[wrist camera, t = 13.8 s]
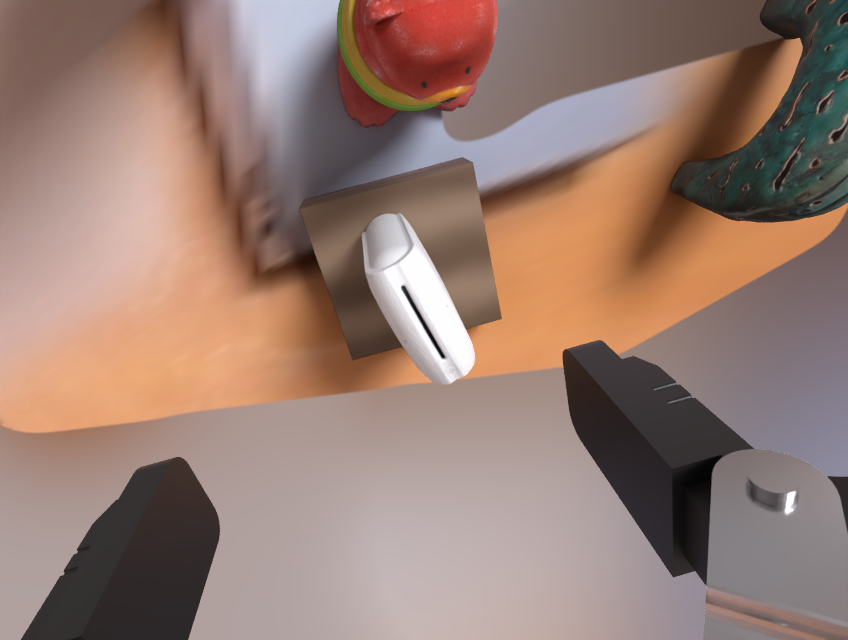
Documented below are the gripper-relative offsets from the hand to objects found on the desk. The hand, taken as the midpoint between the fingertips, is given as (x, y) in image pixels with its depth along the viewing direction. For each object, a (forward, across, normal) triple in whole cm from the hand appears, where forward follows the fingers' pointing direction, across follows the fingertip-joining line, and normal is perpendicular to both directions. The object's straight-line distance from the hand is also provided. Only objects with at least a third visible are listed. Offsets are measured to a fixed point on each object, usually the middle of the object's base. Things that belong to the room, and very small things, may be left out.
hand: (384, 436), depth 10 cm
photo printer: (+30, -2, +7) cm, 31 cm away
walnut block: (+34, -2, +7) cm, 35 cm away
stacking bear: (+34, -6, -9) cm, 36 cm away
